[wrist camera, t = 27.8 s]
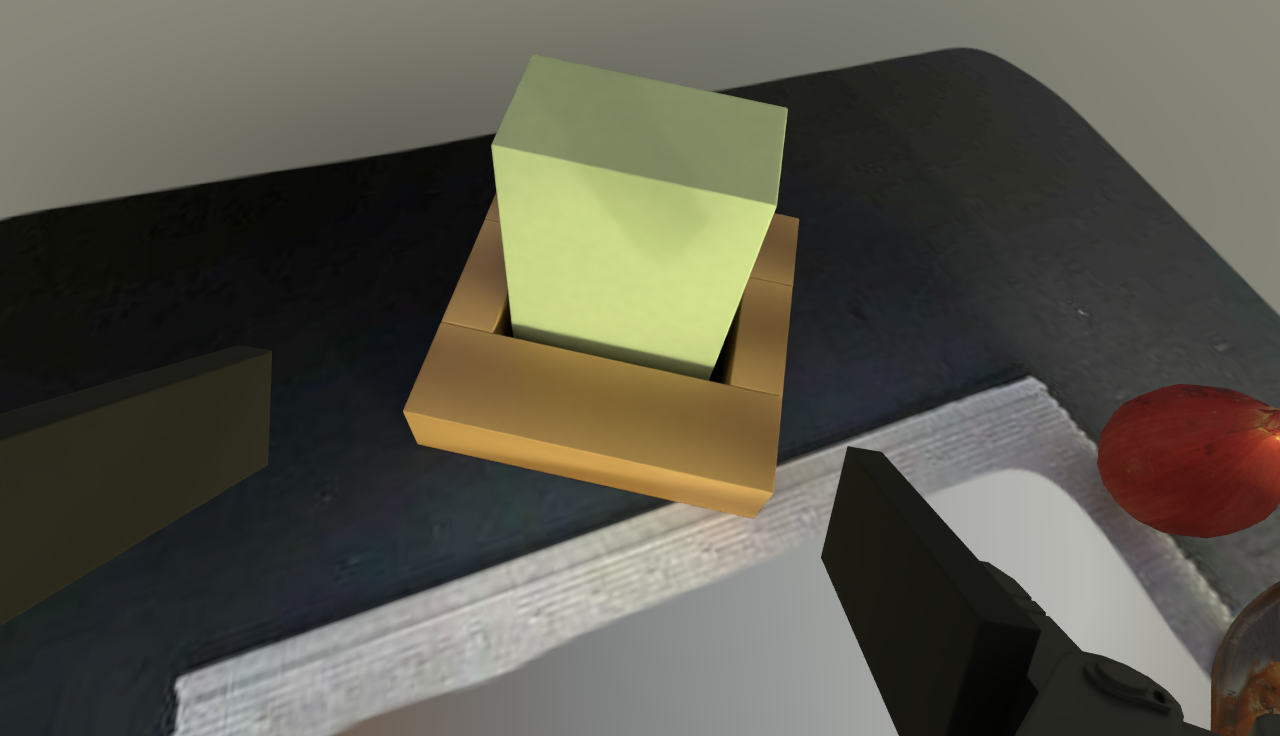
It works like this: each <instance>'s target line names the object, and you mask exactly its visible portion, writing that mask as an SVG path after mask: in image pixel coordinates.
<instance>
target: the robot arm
mask: <svg viewBox="0 0 1280 736" xmlns="http://www.w3.org/2000/svg"><path fill="white" fill-rule="evenodd" d="M271 364H272V351H270V350H264V349H258V348H252V347H246V346H240V345H238V346H235V347H231V348H228V349H224V350H221V351H217V352H214V353H211V354H207V355H204V356H200V357H197V358H193V359H190V360H186V361H183V362H179V363H176V364H172V365H169V366H165V367H162V368H158V369H155V370H152V371H148V372H145V373H141V374H138V375H134V376H131V377H127V378H124V379H120V380H117V381H113V382H110V383H106V384H103V385H100V386H96V387H93V388H89V389H86V390H82V391H79V392H75V393H72V394H68V395H65V396H61V397H58V398H54V399H51V400H48V401H44V402H41V403H37V404H34V405H30V406H27V407H23V408H20V409H16V410H13V411H9V412H6V413H2V414H0V626H1V625H2V624H4V623H6V622H7V621H9V620H11V619H12V618H14V617H16V616H17V615H19V614H21V613H22V612H24V611H26V610H27V609H29V608H31V607H32V606H34V605H36V604H37V603H39V602H41V601H42V600H44V599H46V598H47V597H49V596H51V595H52V594H54V593H56V592H57V591H59V590H61V589H62V588H64V587H65V586H67V585H69V584H70V583H72V582H74V581H75V580H77V579H79V578H80V577H82V576H84V575H85V574H87V573H89V572H90V571H92V570H94V569H95V568H97V567H99V566H100V565H102V564H104V563H105V562H107V561H109V560H110V559H112V558H114V557H115V556H117V555H119V554H120V553H122V552H124V551H125V550H127V549H129V548H130V547H132V546H134V545H135V544H137V543H138V542H140V541H142V540H143V539H145V538H147V537H148V536H150V535H152V534H153V533H155V532H157V531H158V530H160V529H162V528H163V527H165V526H167V525H168V524H170V523H172V522H173V521H175V520H177V519H178V518H180V517H182V516H183V515H185V514H187V513H188V512H190V511H192V510H193V509H195V508H197V507H198V506H200V505H202V504H203V503H205V502H207V501H208V500H210V499H211V498H213V497H215V496H216V495H218V494H220V493H221V492H223V491H225V490H226V489H228V488H230V487H231V486H233V485H235V484H236V483H238V482H240V481H241V480H243V479H245V478H246V477H248V476H250V475H251V474H253V473H255V472H256V471H258V470H260V469H261V468H263V467H265V466H266V465H268V450H269V421H270V392H271ZM821 559H822V561H823V563H824V565H825V567H826V570H827V572H828V574H829V577H830V579H831V581H832V584H833V586H834V588H835V591H836V593H837V595H838V598H839V600H840V602H841V604H842V607H843V609H844V611H845V614H846V616H847V618H848V620H849V623H850V625H851V627H852V630H853V632H854V634H855V636H856V639H857V641H858V643H859V646H860V648H861V650H862V652H863V655H864V657H865V659H866V661H867V664H868V666H869V668H870V671H871V673H872V675H873V677H874V680H875V682H876V684H877V687H878V689H879V691H880V694H881V696H882V698H883V701H884V703H885V705H886V707H887V710H888V712H889V714H890V717H891V719H892V721H893V723H894V726H895V728H896V730H897V733H898V735H899V736H1224V735H1221V734H1218V733H1215V732H1212V731H1209V730H1206V729H1203V728H1200V727H1197V726H1195V725H1192V724H1189V723H1186V722H1184V721H1183V718H1184V716H1183V712H1182V709H1181V706H1180V704H1179V703H1178V702H1177V701H1176V700H1175V699H1174V697H1172V695H1171V694H1170V693H1169V692H1168V691H1167V690H1166V689H1164V688H1163V687H1161V686H1160V685H1159V684H1157V683H1156V682H1154V681H1153V680H1152V679H1151V678H1149V677H1148V676H1145V675H1144V674H1142V673H1140V672H1138V671H1136V670H1135V669H1133V668H1131V667H1129V666H1127V665H1125V664H1123V663H1120V662H1117V661H1115V660H1112V659H1110V658H1107V657H1105V656H1101V655H1097V654H1093V653H1088V652H1083V651H1082V650H1081V649H1080V648H1079V647H1078V646H1077V645H1076V644H1075V643H1074V642H1073V641H1072V640H1071V639H1070V638H1069V637H1068V636H1067V634H1066V633H1065V632H1064V631H1063V630H1062V629H1061V628H1060V627H1059V626H1058V625H1057V624H1056V623H1055V622H1054V621H1053V620H1052V619H1051V618H1050V617H1049V616H1046V612H1045V611H1044V610H1043V609H1042V608H1041V607H1040V606H1039V605H1038V604H1037V603H1036V602H1035V601H1032V600H1031V597H1030V596H1029V594H1028V593H1027V592H1026V591H1025V590H1024V589H1023V588H1022V587H1021V586H1020V585H1019V584H1018V583H1017V582H1016V581H1015V580H1014V579H1013V578H1011V577H1010V576H1008V575H1007V574H1005V573H1004V572H1002V571H1001V570H999V569H998V568H996V567H995V566H993V565H991V564H990V563H989V562H983V561H979V560H978V559H977V558H976V557H975V555H974V554H973V553H972V552H971V551H970V550H969V549H968V548H967V547H966V545H965V544H964V543H963V542H962V541H961V540H960V539H959V538H958V536H957V535H956V534H955V533H954V532H953V531H952V530H951V529H950V528H949V527H948V525H947V524H946V523H945V522H944V521H943V520H942V519H941V518H940V516H939V515H938V514H937V513H936V512H935V511H934V510H933V509H932V508H931V506H930V505H929V504H928V503H927V502H926V501H925V500H924V499H923V497H922V496H921V495H920V494H919V493H918V492H917V491H916V490H915V489H914V487H913V486H912V485H911V484H910V483H909V482H908V481H907V480H906V478H905V477H904V476H903V475H902V474H901V473H900V472H899V471H898V470H897V468H896V467H895V466H894V465H893V464H892V463H891V462H890V461H889V460H888V458H887V457H886V456H885V455H884V454H883V453H882V452H879V451H873V450H867V449H861V448H855V447H849V446H848V447H847V451H846V455H845V459H844V463H843V468H842V472H841V476H840V480H839V484H838V488H837V493H836V497H835V501H834V505H833V509H832V513H831V518H830V522H829V526H828V530H827V534H826V538H825V543H824V547H823V551H822V556H821ZM1248 736H1280V714H1271V713H1264V714H1262V715H1260V716H1258V717H1256V719H1255V721H1254V724H1253V726H1252V728H1251V731H1250V733H1249V735H1248Z"/></svg>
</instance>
